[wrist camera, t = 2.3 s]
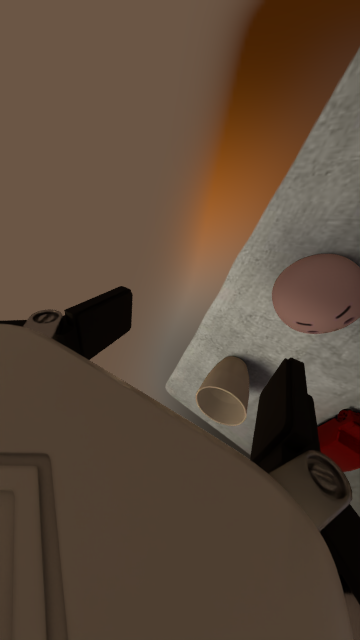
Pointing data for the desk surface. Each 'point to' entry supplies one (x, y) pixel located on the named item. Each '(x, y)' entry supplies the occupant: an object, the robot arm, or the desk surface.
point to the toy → (318, 294)
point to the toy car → (342, 440)
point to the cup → (225, 392)
